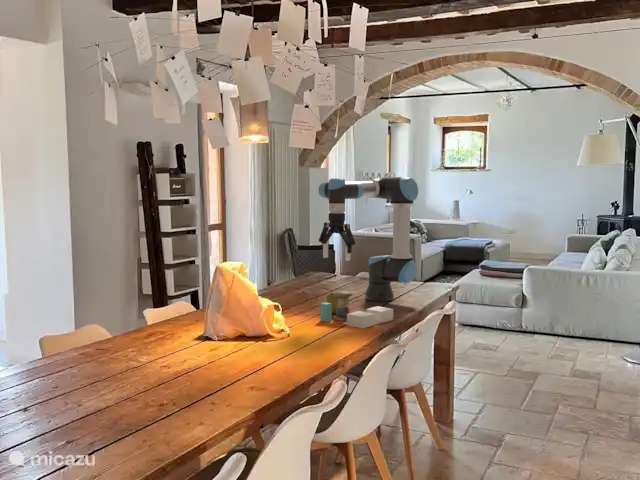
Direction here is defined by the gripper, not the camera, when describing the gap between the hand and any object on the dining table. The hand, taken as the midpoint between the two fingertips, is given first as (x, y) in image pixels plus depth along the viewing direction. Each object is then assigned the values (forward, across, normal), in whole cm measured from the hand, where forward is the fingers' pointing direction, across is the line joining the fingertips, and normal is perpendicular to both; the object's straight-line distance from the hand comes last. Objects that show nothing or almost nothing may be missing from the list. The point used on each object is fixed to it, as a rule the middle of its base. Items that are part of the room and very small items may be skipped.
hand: (336, 259), depth 285 cm
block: (+28, -1, -6) cm, 28 cm away
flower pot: (+28, -8, +10) cm, 31 cm away
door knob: (+28, +2, +2) cm, 28 cm away
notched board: (+28, +16, +6) cm, 32 cm away
